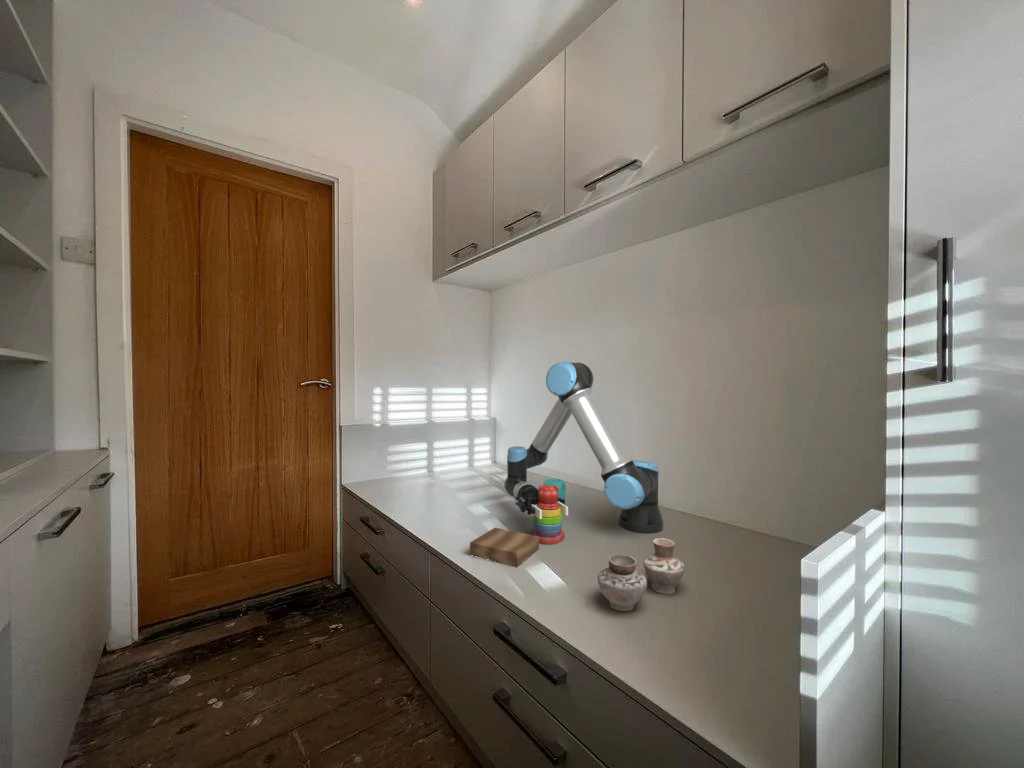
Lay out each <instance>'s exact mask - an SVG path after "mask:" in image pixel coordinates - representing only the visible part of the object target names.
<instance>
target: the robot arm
mask: <svg viewBox="0 0 1024 768" xmlns="http://www.w3.org/2000/svg"><path fill="white" fill-rule="evenodd" d="M593 383H594V375H593V372H592V370H591V368H590V367H589V366H588V365H587V364H584V363H582V362H569V361H561V362H560V361H559V362H556V363H554V364H553V365H551V367H549V369H548V371H547V373H546V376H545V384H546V387H547V390H548V391H549V392H550V393H551V394H552V395H554V396H556V397H557V400H556V402H555V404H554V406H553V407H552V409H551V411H550V412H549V414H548V416H546V419H545V420H544V422H543V424H542V426H541V427H540V429H539V430H538V432H537V433H536V435H535V436H534V439H533V440H532V442H531V444H530V445H529V447H528V448H526V447H525V446H517V445H516V446H510V447H508V449H507V455H506V459H507V460H506V463H507V464H506V466H507V476H506V477H507V478H506V479H505V480H504V483H503V487H504V490H505V492H507V494H508V495H509V496H510V497H512V498H514V500H515V502H514V504H515V505H516V506H518V508H519V510H520V512H521V513H526V514H527V515H528V516H530V515H533V516H534V515H535V516H536V517H538V518H539V519H542V510H541V509H539V508H538V507H537V504H538V502H540V500H539V497H538V491H539V489H538V487H535V486H534V485H532V484H531V483H529V482H528V481H527V479H528V478H527V475H528V474H527V473H528V469H532V468H534V467H537V466H540V465H541V466H542V464H544V463H545V462H547V460H548V456H549V455H548V454H549V453H548V452H549V451H550V450H551V448H552V446H553V445H554V443H555V441H556V439H557V438H558V437H559V435H560V434H561V432H562V430H563V429H564V427H565V426H566V423H567V422H568V421H569V419H570V418H571V416H573V418H574V420H575V422H576V424H577V425H578V427H579V428H580V430H581V432H582V434H583V436H584V438H585V440H586V441H587V444H588V445H589V447H590V448H591V451H592V453H593V455H594V456H595V458H596V460H597V461H598V464H599V466H600V467H601V473H600V477H601V478H602V480H603V481H602V482H604V488H603V490H604V496H605V498H606V500H607V501H608V502H609V503H610V504H611V505H612V506H613V507H615V508H618V509H621V510H620V513H619V516H618V524H619V526H620V527H621V528H623V529H625V530H626V531H629V532H633V533H639V532H640V533H641V534H653V533H652V532H655V533H658V532H657V531H659V532H660V530H661V531H662V530H663V529H664V520H663V517H662V513H661V510H660V507H659V473H660V472H659V465H658V464H657V462H656V463H655V462H652V461H647V460H646V461H645V460H634V459H631V458H630V457H627V456H625V455H624V452H623V451H622V449H621V448H620V445H619V444H618V442H617V440H616V439H615V437H614V436H613V433H612V431H611V429H610V428H609V425H608V424H607V423H606V421H605V419H604V417H603V415H602V414H601V412H600V410H599V408H598V406H597V405H596V403H595V401H594V400H593V397H592V396H591V393H592V390H593V389H592V387H593ZM556 502H557V503H558V504H559V506H560V508H561V514H562V515H564V516H569V506H567V505H566V500H565V498H564V499H562V498H559V497H558V500H557V501H556Z"/></svg>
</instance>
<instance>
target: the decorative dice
mask: <svg viewBox="0 0 1024 768" xmlns="http://www.w3.org/2000/svg"><path fill="white" fill-rule="evenodd" d="M544 485H552V486H558V488H559V489H558V497H559V498H562V499H564V500H565V498H566V492H567V487H566V485H567V484H566V482H565V481H564V480H563V479H560V478H549V479H548V478H547V479H546V480H544V481H543V485H542V486H544Z"/></svg>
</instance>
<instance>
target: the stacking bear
mask: <svg viewBox="0 0 1024 768" xmlns="http://www.w3.org/2000/svg"><path fill="white" fill-rule="evenodd" d="M537 489H538V497H539V500H540V502H538V504H537V505H536V506H537V507H538V508H539V509H541V510H542V519H539V518H538V517H536V516H535V515H534V514H533V524H534V529H533V530H532V532H531V535H534V536H539V544H543V545H555V544H560V543H561V542H562V541H564V539H565V532H564V530H563V529H562V527H563V521H564V520H563V513H561V508H560V506H559V504H558V503H557V502H556V501H557V500H558V489H559V488H558V486H552V485H544V486H543V485H542V484H541V485H539V486H538V487H537Z"/></svg>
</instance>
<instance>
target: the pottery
mask: <svg viewBox="0 0 1024 768" xmlns="http://www.w3.org/2000/svg"><path fill="white" fill-rule="evenodd" d="M652 543H653V548H654V552H655V553H652V554H650V555H647V556H646V557H645V558H644V559H643V560H642V564H643V568H644V572H645V574H646V576H647V577H646V576H645V575H644V574H642V573H641V572H640V571H638V570H636V567H637V566H636V565H637V560H636V559H635V558H633V557H632V556H629V555H628V554H627V555H625V554H622V553H621V554H612V555H610V556H609V557H608V567H606V568H603V569H602V570H600V571H599V572H598V574H597V584H598V587H599V589H600V591H601V592H602V594H603V595H604V597H605V598H606V599H607V600H608V603H609V605H610V607H611V608H612V609H614V610H616V611H620V612H630V611H633V610H634V608H635V604H637V603H638V602H639V601H641V599H642V598H643V596H644V595H645V593H646V591H647V587H648V579H649V581H650V582H651V585H650V586H651V589H652V590H653V591H655V593H659V594H664V595H672V594H674V593H675V592H676V586H677V585H678V584H679V583H680V582H681V580H682V578H683V576H684V573H685V570H686V566H685V563H683V562H682V561H681V560H680V559H679V558H677V557H676V556H675V555H673V554H674V548H675V542H674V541H673V540H671V539H668V538H663V537H659V538H655V539H653V541H652ZM647 578H648V579H647Z"/></svg>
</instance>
